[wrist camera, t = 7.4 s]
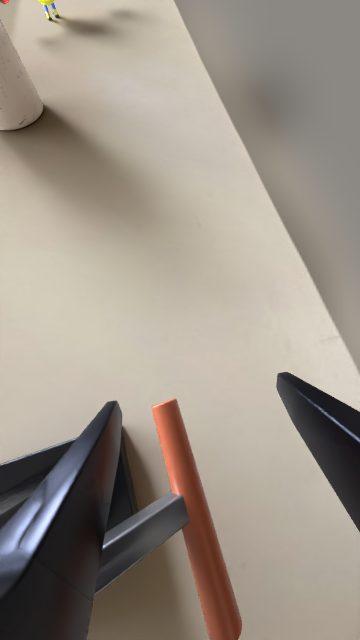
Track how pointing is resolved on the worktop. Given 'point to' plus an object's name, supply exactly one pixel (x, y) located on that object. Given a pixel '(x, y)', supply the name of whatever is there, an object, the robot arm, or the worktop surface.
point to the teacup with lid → (15, 89)
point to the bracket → (30, 470)
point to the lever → (169, 517)
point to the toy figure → (45, 1)
